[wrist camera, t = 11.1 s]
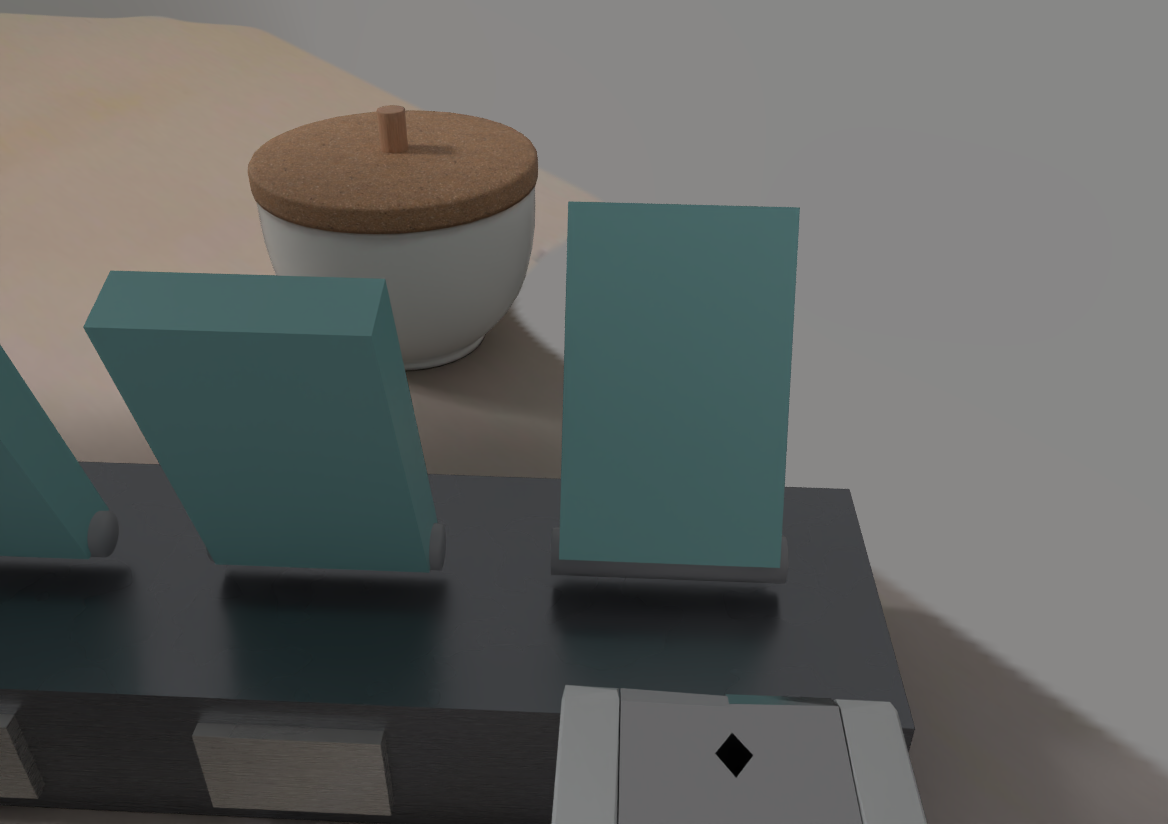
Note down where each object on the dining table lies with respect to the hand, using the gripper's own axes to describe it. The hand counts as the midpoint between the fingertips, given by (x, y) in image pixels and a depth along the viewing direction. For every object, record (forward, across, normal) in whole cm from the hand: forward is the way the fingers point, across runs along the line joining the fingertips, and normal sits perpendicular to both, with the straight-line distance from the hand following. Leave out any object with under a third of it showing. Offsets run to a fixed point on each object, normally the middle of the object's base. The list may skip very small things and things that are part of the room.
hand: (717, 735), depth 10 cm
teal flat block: (+12, 0, +8) cm, 14 cm away
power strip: (+12, +8, +13) cm, 19 cm away
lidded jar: (+31, +10, +14) cm, 35 cm away
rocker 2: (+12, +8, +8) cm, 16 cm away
